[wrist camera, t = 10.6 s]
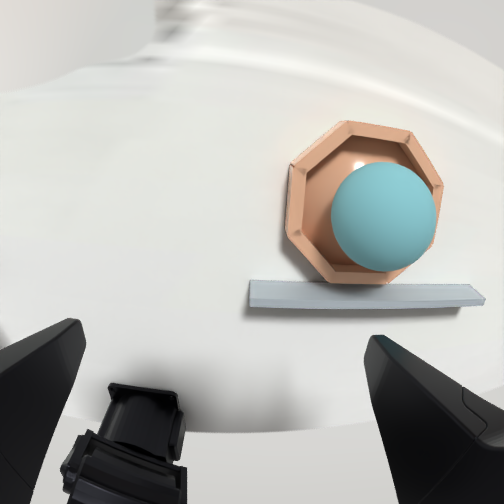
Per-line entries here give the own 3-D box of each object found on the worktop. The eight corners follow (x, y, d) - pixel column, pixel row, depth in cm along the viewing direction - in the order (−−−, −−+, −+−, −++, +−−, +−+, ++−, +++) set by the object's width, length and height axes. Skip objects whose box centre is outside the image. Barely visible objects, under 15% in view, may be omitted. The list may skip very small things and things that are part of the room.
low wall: (249, 287, 22) (249, 306, 20) (250, 279, 22) (249, 298, 19) (467, 290, 22) (483, 305, 20) (469, 284, 22) (485, 298, 20)
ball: (315, 246, 20) (340, 291, 15) (324, 151, 18) (359, 162, 13) (397, 250, 21) (442, 290, 15) (411, 163, 19) (466, 179, 13)
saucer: (280, 271, 21) (282, 281, 20) (292, 115, 18) (296, 114, 16) (414, 275, 22) (422, 284, 20) (437, 138, 18) (449, 140, 17)
